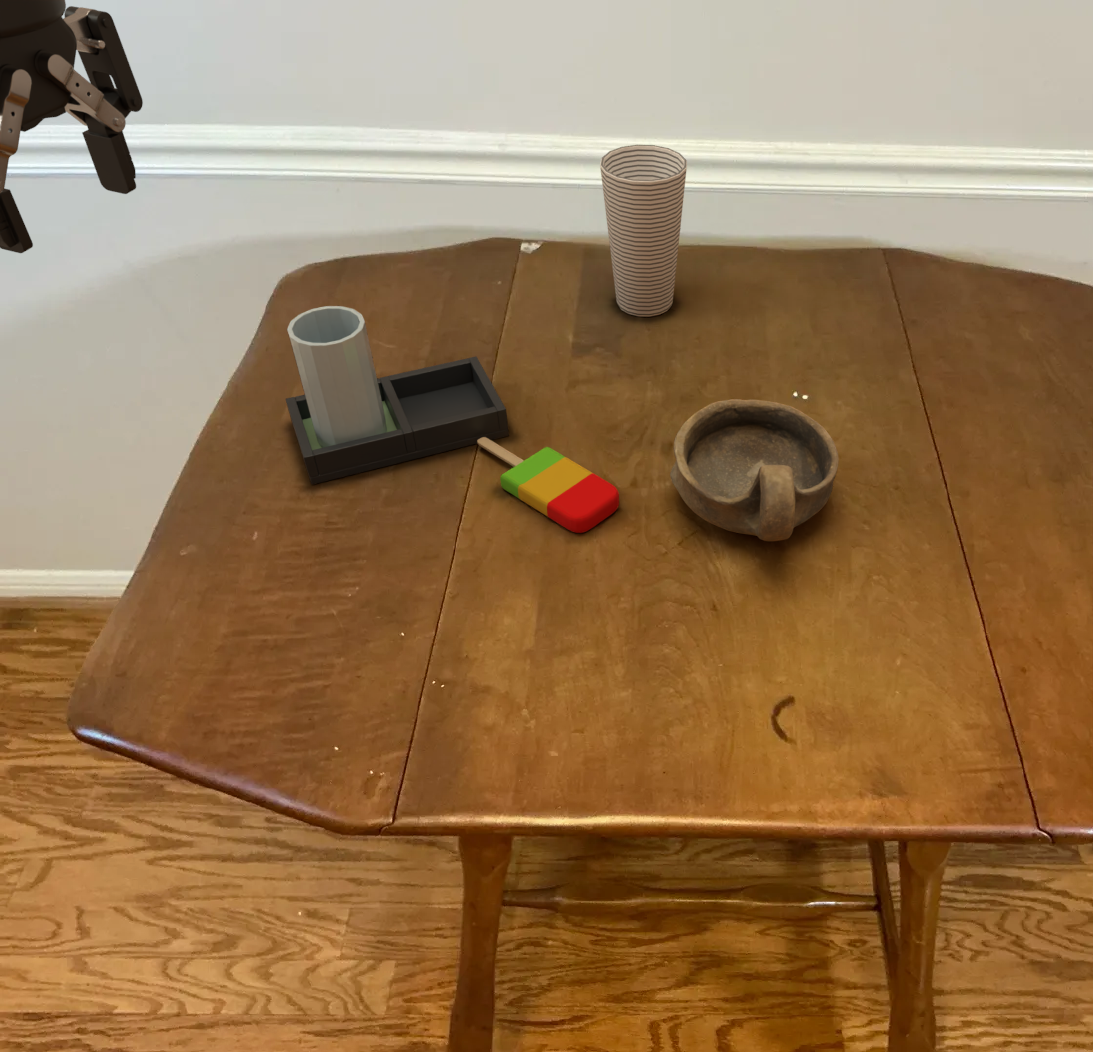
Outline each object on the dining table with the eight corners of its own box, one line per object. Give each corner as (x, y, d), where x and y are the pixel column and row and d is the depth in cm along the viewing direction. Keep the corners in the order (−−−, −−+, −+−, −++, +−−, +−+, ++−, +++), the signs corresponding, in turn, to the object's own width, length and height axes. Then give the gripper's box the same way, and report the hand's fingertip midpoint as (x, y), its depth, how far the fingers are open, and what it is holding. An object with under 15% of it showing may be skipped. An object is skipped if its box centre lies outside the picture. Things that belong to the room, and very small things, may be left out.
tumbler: (323, 460, 92) (294, 351, 84) (310, 421, 96) (281, 314, 88) (393, 443, 94) (371, 335, 86) (378, 406, 98) (355, 300, 90)
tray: (311, 485, 91) (303, 457, 89) (292, 425, 97) (285, 398, 95) (509, 436, 97) (506, 408, 95) (480, 382, 103) (476, 356, 101)
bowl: (816, 448, 97) (828, 354, 90) (855, 587, 84) (872, 490, 77) (664, 453, 95) (665, 359, 89) (679, 595, 83) (681, 497, 76)
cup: (616, 278, 118) (612, 140, 108) (691, 288, 117) (695, 149, 106) (595, 318, 112) (589, 175, 101) (675, 328, 111) (677, 185, 100)
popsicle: (579, 540, 87) (578, 522, 86) (457, 462, 94) (454, 445, 92) (626, 506, 90) (625, 489, 89) (504, 433, 97) (502, 416, 96)
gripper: (-110, -31, 49) (29, 284, 60) (114, -99, 59) (199, 182, 70) (-231, -51, 51) (-74, 258, 62) (7, -113, 61) (105, 163, 72)
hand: (71, 218), depth 66 cm, fingers open, 8 cm apart
